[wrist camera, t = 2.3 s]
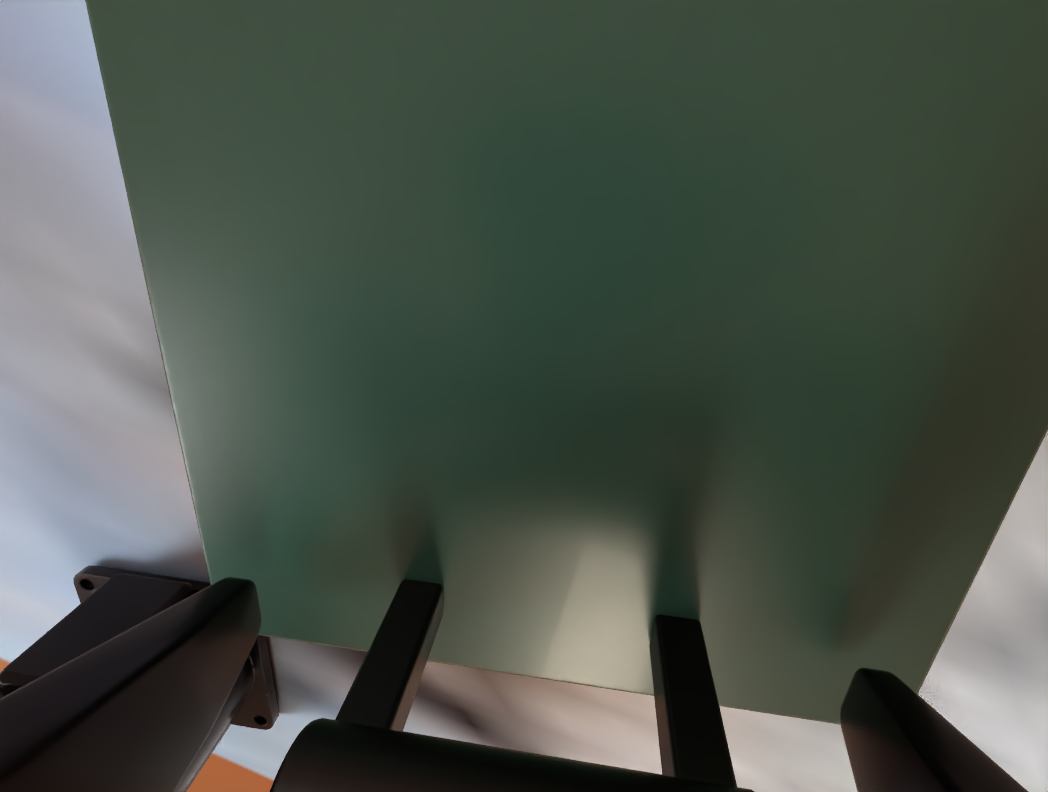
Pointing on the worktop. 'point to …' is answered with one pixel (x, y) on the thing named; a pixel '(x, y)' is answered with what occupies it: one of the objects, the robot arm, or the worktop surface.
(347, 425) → the lid
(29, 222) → the worktop surface
